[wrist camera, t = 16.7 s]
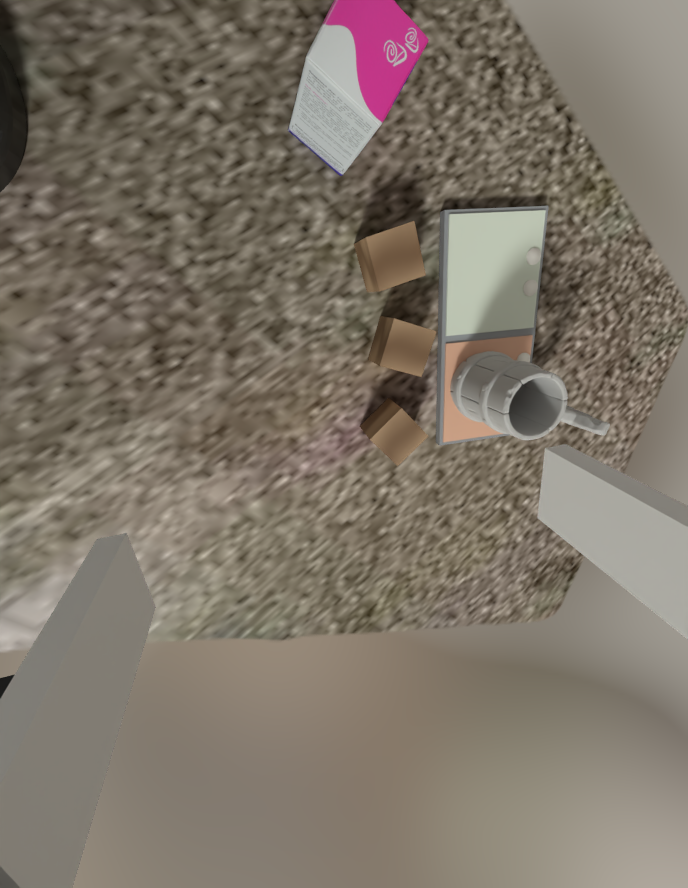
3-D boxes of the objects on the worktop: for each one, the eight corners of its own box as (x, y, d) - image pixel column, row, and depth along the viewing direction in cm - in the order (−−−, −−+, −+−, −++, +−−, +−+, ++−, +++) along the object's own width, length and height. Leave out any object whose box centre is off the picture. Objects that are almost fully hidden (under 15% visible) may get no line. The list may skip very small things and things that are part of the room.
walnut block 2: (380, 316, 40) (394, 318, 36) (419, 328, 41) (436, 331, 37) (367, 359, 42) (379, 365, 37) (405, 369, 43) (421, 377, 39)
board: (440, 212, 38) (446, 209, 37) (541, 207, 40) (550, 204, 38) (435, 442, 47) (440, 446, 45) (519, 430, 48) (526, 433, 47)
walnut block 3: (359, 426, 44) (370, 439, 40) (388, 397, 44) (401, 408, 39) (385, 450, 46) (397, 466, 42) (412, 423, 45) (428, 436, 41)
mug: (462, 340, 42) (536, 356, 31) (549, 370, 45) (644, 394, 34) (436, 408, 44) (497, 445, 33) (521, 431, 47) (602, 472, 36)
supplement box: (343, 179, 35) (379, 129, 25) (286, 131, 33) (299, 54, 23) (378, 116, 34) (432, 36, 24) (322, 62, 32) (353, -52, 22)
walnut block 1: (353, 244, 37) (365, 237, 33) (397, 229, 38) (414, 220, 34) (366, 292, 39) (379, 291, 35) (408, 277, 39) (425, 275, 35)
